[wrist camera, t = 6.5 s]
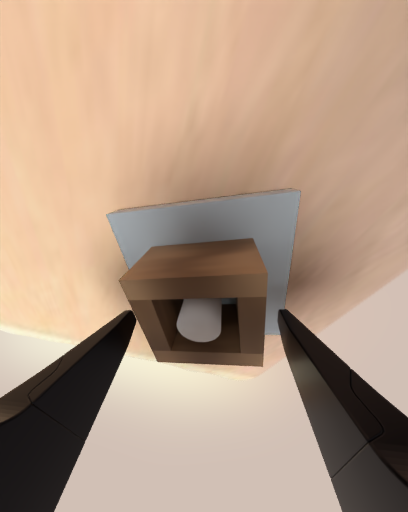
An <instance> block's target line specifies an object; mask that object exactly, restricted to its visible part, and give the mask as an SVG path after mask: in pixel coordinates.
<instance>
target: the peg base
mask: <svg viewBox="0 0 408 512" xmlns="http://www.w3.org/2000/svg"><path fill="white" fill-rule="evenodd" d="M300 194H301V191H299V190H295V189H291V188H290V189H282V190H274V191H266V192H258V193H250V194H242V195H234V196H226V197H218V198H210V199H202V200H194V201H186V202H178V203H170V204H162V205H154V206H145V207H137V208H129V209H121V210H117V211H114V212H112V213H109V214H106V216H107V218H108V220H109V223H110V225H111V228H112V230H113V232H114V235H115V237H116V240H117V242H118V244H119V247H120V249H121V252H122V254H123V256H124V259H125V261H126V264H127V266H128V268H129V270H130V269H131V267H132V266H133V265H134V264H135V263H136V262H137V261H138V260H139V259H140V258H141V257H142V256H143V255H144V254H145V253H146V252H147V251H148V250H149V249H150V248H151V247H154V246H165V245H177V244H189V243H200V242H212V241H223V240H235V239H247V238H253V239H254V242H255V244H256V246H257V249H258V251H259V253H260V256H261V258H262V260H263V263H264V265H265V267H266V270H267V272H268V282H267V300H266V318H265V335H280V331H279V327H278V322H277V318H278V311H279V309H284V308H285V301H286V294H287V287H288V280H289V272H290V265H291V258H292V251H293V244H294V237H295V230H296V222H297V215H298V208H299V201H300ZM183 300H184V301H183V304H182V307H181V310H180V314H179V317H178V320H177V329H178V331H179V332H180V333H181V334H182V335H183V336H184V337H186V338H187V339H190V340H192V341H196V342H208V341H212V340H214V339H216V338H217V337H218V336H219V335H220V333H221V309H222V304H236V298H199V299H183Z"/></svg>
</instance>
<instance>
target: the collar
mask: <svg viewBox="0 0 408 512" xmlns="http://www.w3.org/2000/svg"><path fill="white" fill-rule="evenodd" d="M119 282H120V284H121V286H122V288H123V290H124V292H125V294H126V297H127V299H128V301H129V303H130V305H131V307H132V309H133V311H134V313H135V315H136V318H137V320H138V322H139V324H140V326H141V328H142V330H143V332H144V334H145V336H146V338H147V341H148V343H149V345H150V347H151V349H152V351H153V353H154V355H155V357H156V359H157V361H158V362H172V363H194V364H216V365H239V366H261V367H263V354H264V336H265V318H266V300H267V282H268V272H267V270H266V267H265V265H264V263H263V260H262V258H261V256H260V253H259V251H258V249H257V246H256V244H255V242H254V239H253V238H247V239H235V240H223V241H212V242H200V243H189V244H177V245H165V246H154V247H151V248H150V249H149V250H148V251H147V252H146V253H145V254H144V255H143V256H142V257H141V258H140V259H139V260H138V261H137V262H136V263H135V264H134V265H133V266H132V267H131V269H130V270H129V271H128V272H127V273H126V274H125V275H124V276H123V277H122V278H121V279H120V280H119ZM199 298H236V304H222V309H221V333H220V335H219V336H218V337H217V338H216V339H214V340H212V341H208V342H196V341H192V340H190V339H187V338H186V337H184V336H183V335H182V334H181V333H180V332H179V331H178V329H177V320H178V317H179V314H180V310H181V307H182V304H183V301H184V300H183V299H199Z"/></svg>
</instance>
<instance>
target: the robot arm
mask: <svg viewBox="0 0 408 512" xmlns="http://www.w3.org/2000/svg"><path fill="white" fill-rule="evenodd" d="M277 322H278V327H279V331H280V335H281V339H282V343H283V347H284V351H285V354H286V357H287V359H288V362H289V365H290V368H291V371H292V373H293V376H294V379H295V382H296V384H297V387H298V390H299V393H300V395H301V398H302V401H303V404H304V407H305V409H306V412H307V414H308V417H309V420H310V423H311V426H312V428H313V431H314V434H315V437H316V439H317V442H318V445H319V448H320V451H321V453H322V456H323V459H324V462H325V464H326V467H327V470H328V472H329V476H330V478H331V481H332V484H333V486H334V489H335V492H336V495H337V498H338V500H339V503H340V506H341V509H342V512H408V417H407V416H406V415H404V414H403V413H402V412H401V411H399V410H398V409H397V408H396V407H395V406H393V405H392V404H391V403H390V402H389V401H388V400H386V399H385V398H384V397H383V396H382V395H380V394H379V393H378V392H377V391H376V390H375V389H373V388H372V387H371V386H370V385H369V384H368V383H367V382H366V381H364V380H363V379H362V378H361V377H360V376H359V375H358V374H357V373H356V372H354V371H353V370H352V369H350V367H349V366H348V365H347V364H346V363H345V362H344V361H343V360H341V359H340V358H339V357H338V356H337V355H336V354H335V353H334V352H333V351H332V350H331V349H329V348H328V347H327V346H326V345H325V344H324V343H323V342H322V341H321V340H320V339H319V338H317V337H316V336H315V335H314V334H313V333H312V332H311V331H310V330H309V329H308V328H307V327H306V326H304V325H303V324H302V323H301V322H300V321H299V320H298V319H297V318H296V317H295V316H294V315H293V314H291V313H290V312H289V311H288V310H287V309H279V311H278V318H277ZM135 324H136V317H135V315H134V313H133V311H132V310H126V311H124V312H123V313H121V314H120V315H118V316H117V317H116V318H114V319H113V320H111V321H110V322H109V323H107V324H106V325H105V326H103V327H102V328H100V329H99V330H98V331H96V332H95V333H93V334H92V335H91V336H89V337H88V338H86V339H85V340H84V341H82V342H81V343H80V344H78V345H77V346H75V347H74V348H73V349H71V350H70V351H68V352H67V353H66V354H65V355H63V356H62V357H60V358H59V359H57V360H56V361H55V362H53V363H52V364H51V365H49V366H47V367H46V368H45V369H43V370H42V371H40V372H39V373H37V374H36V375H35V376H33V377H31V378H30V379H28V380H27V381H25V382H24V383H23V384H21V385H19V386H18V387H16V388H15V389H13V390H12V391H10V392H8V393H7V394H5V395H4V396H3V397H1V398H0V512H54V510H55V508H56V506H57V504H58V502H59V499H60V497H61V495H62V493H63V490H64V488H65V486H66V484H67V481H68V479H69V477H70V475H71V472H72V470H73V468H74V466H75V464H76V461H77V459H78V457H79V455H80V452H81V450H82V448H83V446H84V444H85V440H86V439H87V437H88V434H89V432H90V430H91V427H92V425H93V423H94V421H95V419H96V417H97V414H98V412H99V410H100V407H101V405H102V403H103V401H104V399H105V396H106V394H107V392H108V390H109V388H110V385H111V383H112V381H113V379H114V376H115V374H116V372H117V370H118V367H119V365H120V363H121V361H122V359H123V356H124V354H125V352H126V350H127V347H128V345H129V342H130V339H131V336H132V333H133V330H134V327H135Z"/></svg>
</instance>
